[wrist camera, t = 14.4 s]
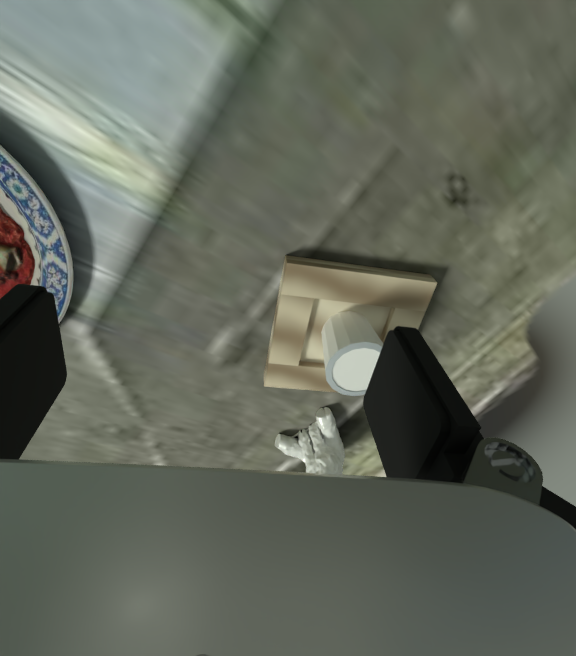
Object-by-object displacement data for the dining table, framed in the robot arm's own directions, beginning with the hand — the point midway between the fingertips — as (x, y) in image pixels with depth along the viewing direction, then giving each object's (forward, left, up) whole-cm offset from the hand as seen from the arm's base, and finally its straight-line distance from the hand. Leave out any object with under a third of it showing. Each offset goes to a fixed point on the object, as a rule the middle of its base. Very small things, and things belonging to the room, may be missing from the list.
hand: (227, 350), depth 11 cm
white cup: (+16, +13, -28) cm, 34 cm away
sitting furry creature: (+34, +14, -29) cm, 47 cm away
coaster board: (+16, +13, -28) cm, 35 cm away
